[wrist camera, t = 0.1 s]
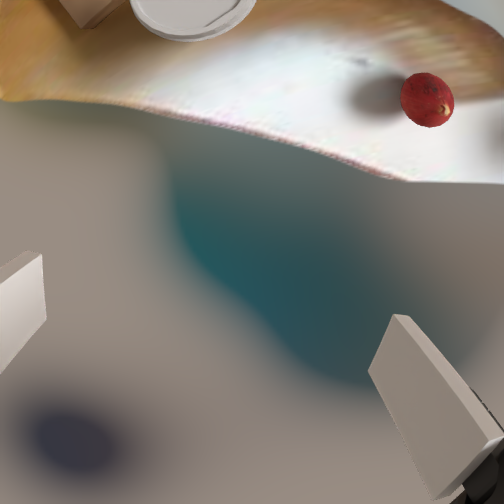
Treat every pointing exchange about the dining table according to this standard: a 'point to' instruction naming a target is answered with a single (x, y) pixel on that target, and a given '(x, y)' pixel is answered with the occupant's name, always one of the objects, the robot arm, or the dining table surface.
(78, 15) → the square wooden board
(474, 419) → the robot arm
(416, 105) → the onion
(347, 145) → the dining table surface
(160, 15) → the disposable coffee cup
